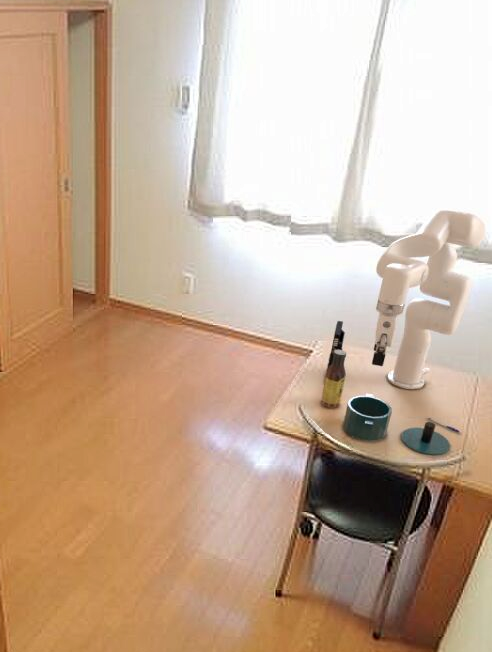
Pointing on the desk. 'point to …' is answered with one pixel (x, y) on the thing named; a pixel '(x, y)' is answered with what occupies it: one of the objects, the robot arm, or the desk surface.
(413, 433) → the lid
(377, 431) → the pot
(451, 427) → the ballpoint pen
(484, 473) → the desk surface
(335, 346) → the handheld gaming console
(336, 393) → the sauce bottle
